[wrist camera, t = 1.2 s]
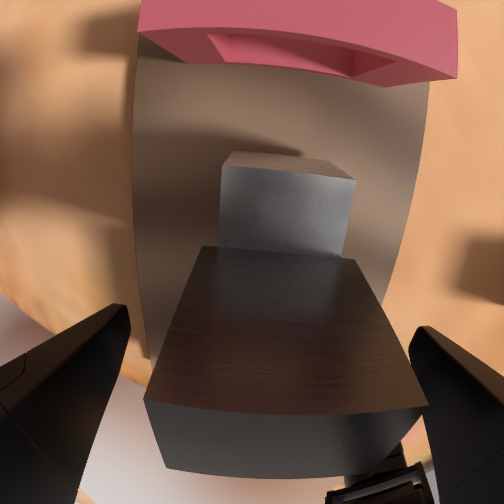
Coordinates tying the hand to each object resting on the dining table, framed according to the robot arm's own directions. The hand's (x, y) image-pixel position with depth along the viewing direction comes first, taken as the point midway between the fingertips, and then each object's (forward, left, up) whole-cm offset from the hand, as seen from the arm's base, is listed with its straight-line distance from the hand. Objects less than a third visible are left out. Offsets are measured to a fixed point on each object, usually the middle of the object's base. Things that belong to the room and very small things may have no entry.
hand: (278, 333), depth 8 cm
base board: (0, 0, -8) cm, 8 cm away
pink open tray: (+9, 0, -7) cm, 12 cm away
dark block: (-3, 0, -6) cm, 7 cm away
